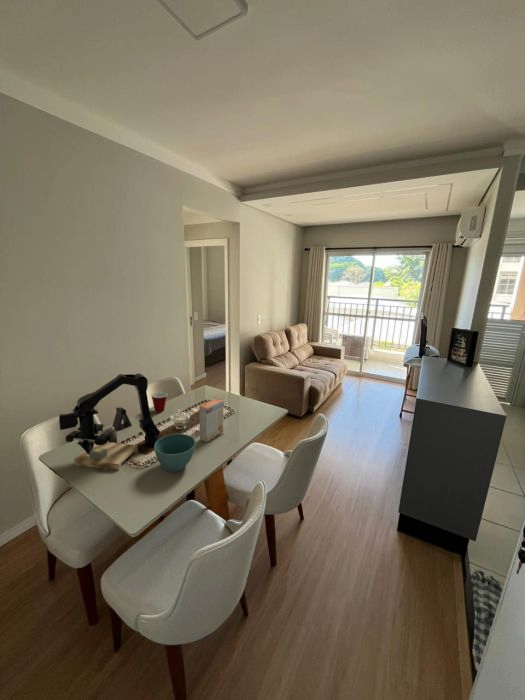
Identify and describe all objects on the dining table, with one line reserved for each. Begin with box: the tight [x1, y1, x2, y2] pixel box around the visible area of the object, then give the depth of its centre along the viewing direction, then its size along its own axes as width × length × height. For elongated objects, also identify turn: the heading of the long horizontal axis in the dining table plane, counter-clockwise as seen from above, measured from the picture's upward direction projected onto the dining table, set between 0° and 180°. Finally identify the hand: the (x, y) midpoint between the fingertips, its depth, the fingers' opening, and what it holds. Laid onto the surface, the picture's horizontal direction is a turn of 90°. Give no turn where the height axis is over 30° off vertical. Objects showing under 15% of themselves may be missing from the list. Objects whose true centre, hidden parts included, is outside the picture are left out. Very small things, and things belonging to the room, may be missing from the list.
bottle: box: [107, 426, 118, 443], centre depth 150 cm, size 4×4×10 cm
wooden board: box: [73, 441, 138, 472], centre depth 138 cm, size 22×19×3 cm
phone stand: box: [111, 406, 133, 432], centre depth 168 cm, size 9×6×12 cm, turn 142°
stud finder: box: [89, 448, 107, 460], centre depth 133 cm, size 6×4×3 cm, turn 84°
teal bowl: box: [154, 433, 196, 473], centre depth 133 cm, size 18×18×12 cm
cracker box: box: [198, 398, 224, 444], centre depth 161 cm, size 14×6×21 cm, turn 146°
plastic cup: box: [150, 391, 168, 413], centre depth 192 cm, size 11×11×12 cm
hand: (89, 454), depth 134 cm, fingers closed
